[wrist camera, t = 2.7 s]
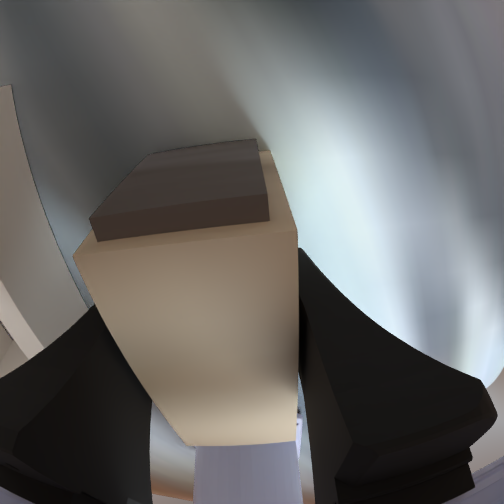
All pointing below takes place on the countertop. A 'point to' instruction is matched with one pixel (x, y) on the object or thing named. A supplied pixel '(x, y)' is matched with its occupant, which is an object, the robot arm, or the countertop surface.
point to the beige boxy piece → (203, 290)
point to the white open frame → (28, 257)
